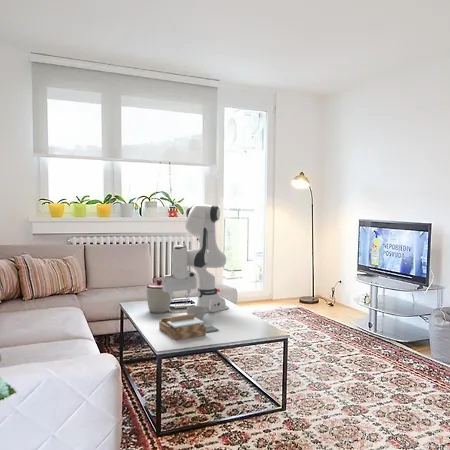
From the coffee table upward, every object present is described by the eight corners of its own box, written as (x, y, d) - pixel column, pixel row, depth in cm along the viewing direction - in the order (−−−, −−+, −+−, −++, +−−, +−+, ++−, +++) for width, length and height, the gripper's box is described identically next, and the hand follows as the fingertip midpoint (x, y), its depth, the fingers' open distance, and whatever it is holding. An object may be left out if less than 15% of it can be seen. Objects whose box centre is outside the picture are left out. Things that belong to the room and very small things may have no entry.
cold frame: (187, 324, 260) (187, 314, 260) (205, 334, 242) (205, 324, 241) (159, 329, 251) (159, 318, 251) (175, 340, 232) (175, 329, 232)
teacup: (188, 323, 264) (188, 309, 263) (185, 318, 274) (185, 305, 274) (211, 321, 267) (211, 308, 267) (206, 316, 278) (207, 304, 277)
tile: (211, 327, 256) (211, 325, 256) (218, 330, 249) (218, 329, 249) (199, 329, 252) (199, 327, 252) (206, 332, 245) (206, 331, 245)
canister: (176, 313, 285) (176, 281, 283) (148, 315, 278) (148, 282, 276) (169, 306, 301) (169, 276, 300) (142, 308, 295) (142, 277, 293)
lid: (195, 318, 251) (195, 313, 251) (204, 323, 242) (204, 317, 242) (167, 323, 242) (167, 317, 241) (174, 327, 233) (174, 321, 233)
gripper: (165, 276, 239) (165, 301, 239) (198, 273, 250) (197, 297, 251) (160, 274, 244) (160, 299, 245) (192, 271, 255) (192, 295, 256)
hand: (179, 298), depth 248 cm, fingers open, 8 cm apart
